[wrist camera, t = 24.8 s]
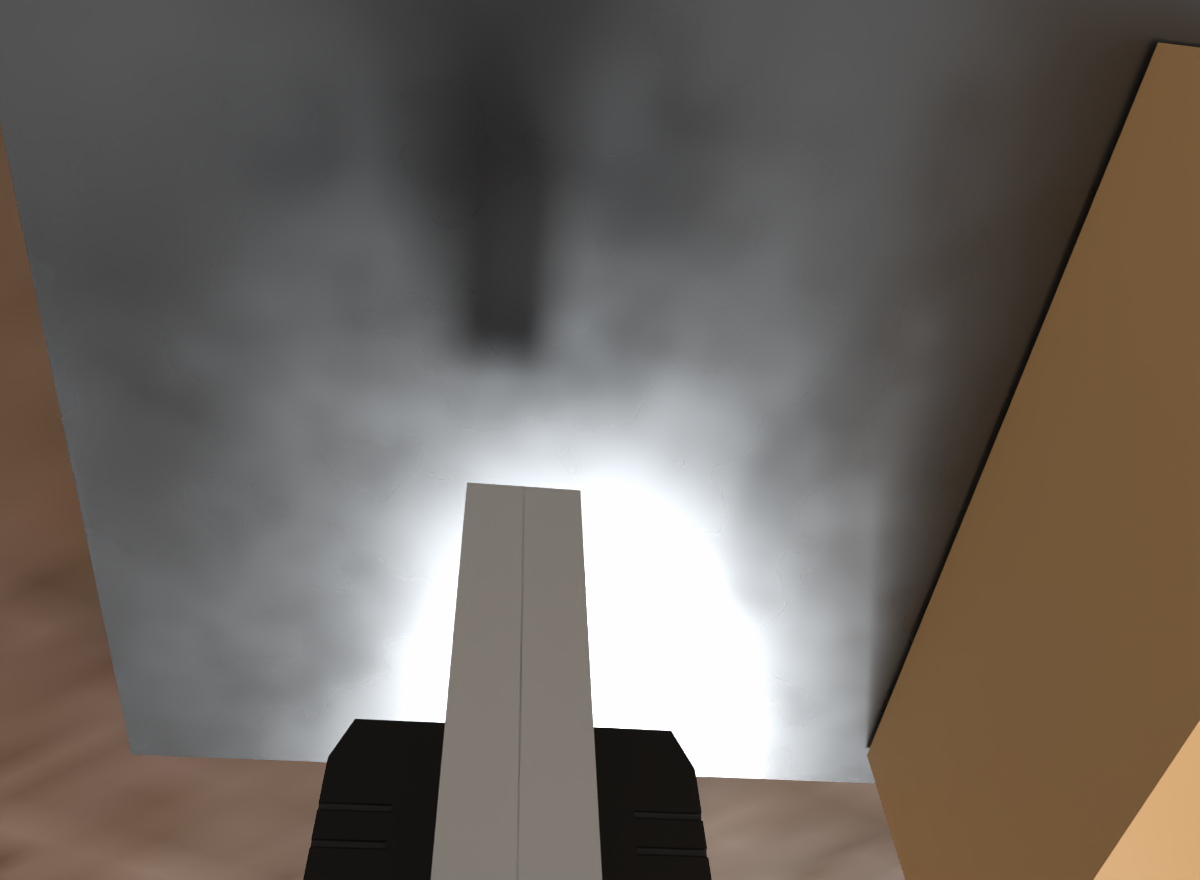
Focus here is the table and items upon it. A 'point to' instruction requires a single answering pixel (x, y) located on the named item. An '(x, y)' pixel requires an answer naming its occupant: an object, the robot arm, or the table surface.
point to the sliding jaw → (1077, 565)
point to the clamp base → (545, 332)
